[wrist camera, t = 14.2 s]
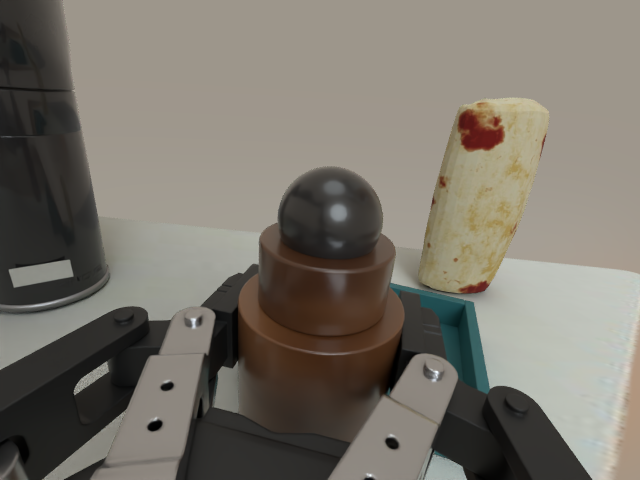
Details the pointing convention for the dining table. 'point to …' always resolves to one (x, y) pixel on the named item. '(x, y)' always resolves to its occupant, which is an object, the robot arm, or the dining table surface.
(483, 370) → the tray
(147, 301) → the dining table surface
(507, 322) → the dining table surface
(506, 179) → the food model
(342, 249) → the pepper mill
